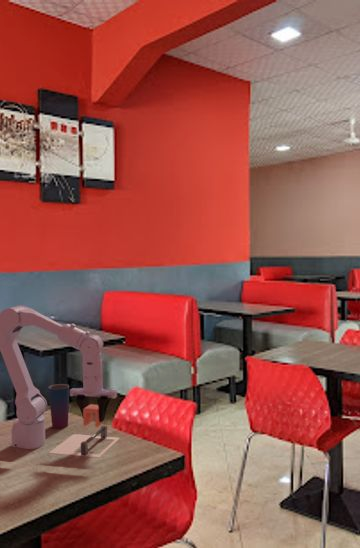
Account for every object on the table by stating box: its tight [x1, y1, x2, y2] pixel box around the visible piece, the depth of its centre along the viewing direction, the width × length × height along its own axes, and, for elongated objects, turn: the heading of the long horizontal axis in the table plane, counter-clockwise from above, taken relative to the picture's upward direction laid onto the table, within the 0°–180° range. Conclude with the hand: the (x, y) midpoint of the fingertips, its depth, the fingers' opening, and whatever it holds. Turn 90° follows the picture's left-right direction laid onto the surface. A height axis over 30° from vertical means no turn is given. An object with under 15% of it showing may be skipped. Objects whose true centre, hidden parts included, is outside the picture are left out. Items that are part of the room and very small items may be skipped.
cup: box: [48, 383, 70, 430], centre depth 178 cm, size 7×7×15 cm
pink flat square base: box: [48, 425, 121, 458], centre depth 161 cm, size 16×16×5 cm
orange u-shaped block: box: [82, 403, 105, 428], centre depth 160 cm, size 5×5×5 cm
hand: (94, 420), depth 160 cm, fingers closed on orange u-shaped block, 5 cm apart
